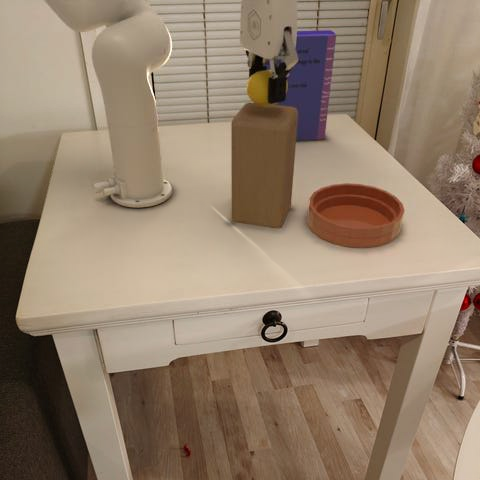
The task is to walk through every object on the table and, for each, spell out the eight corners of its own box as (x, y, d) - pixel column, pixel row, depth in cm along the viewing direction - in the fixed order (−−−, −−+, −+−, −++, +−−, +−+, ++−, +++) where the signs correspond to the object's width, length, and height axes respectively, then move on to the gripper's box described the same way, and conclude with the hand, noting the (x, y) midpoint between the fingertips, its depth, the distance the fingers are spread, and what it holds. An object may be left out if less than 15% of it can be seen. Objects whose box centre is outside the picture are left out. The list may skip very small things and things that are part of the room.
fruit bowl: (345, 260, 93) (349, 238, 90) (289, 217, 105) (290, 196, 102) (418, 234, 100) (424, 213, 97) (358, 196, 112) (361, 176, 109)
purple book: (319, 132, 138) (330, 29, 123) (324, 139, 135) (336, 34, 119) (253, 135, 136) (255, 31, 121) (256, 143, 133) (259, 36, 117)
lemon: (255, 111, 88) (255, 78, 85) (239, 102, 91) (239, 70, 88) (294, 103, 91) (296, 71, 88) (277, 95, 94) (278, 63, 91)
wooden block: (291, 207, 108) (299, 105, 95) (281, 231, 100) (288, 125, 88) (243, 200, 110) (245, 100, 97) (230, 224, 102) (229, 118, 90)
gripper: (221, -36, 83) (222, 86, 95) (282, -21, 72) (276, 116, 83) (262, -39, 86) (258, 80, 98) (327, -25, 75) (314, 108, 86)
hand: (266, 95), depth 90 cm, fingers closed on lemon, 5 cm apart
